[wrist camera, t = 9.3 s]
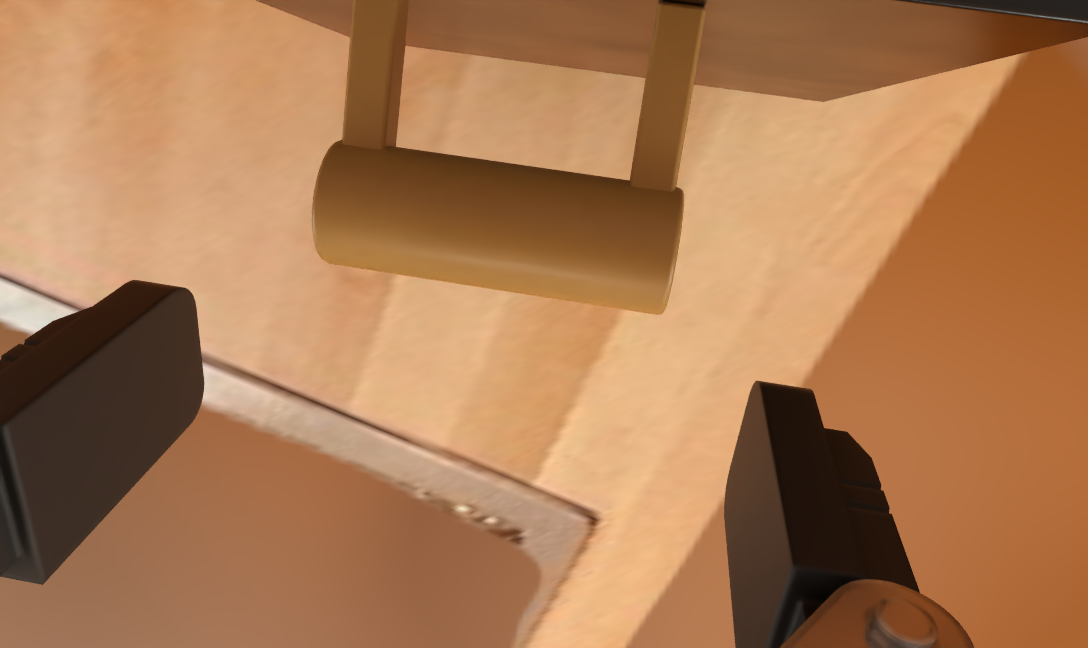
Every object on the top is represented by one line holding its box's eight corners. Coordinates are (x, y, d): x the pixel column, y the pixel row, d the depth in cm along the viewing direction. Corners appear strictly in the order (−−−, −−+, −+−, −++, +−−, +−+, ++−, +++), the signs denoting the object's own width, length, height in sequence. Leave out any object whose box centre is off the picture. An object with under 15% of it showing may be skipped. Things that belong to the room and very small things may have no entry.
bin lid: (-51, -187, 10) (-43, 236, 12) (1150, -46, 9) (1024, 404, 10) (354, 11, 25) (340, 186, 27) (830, 74, 24) (793, 253, 26)
